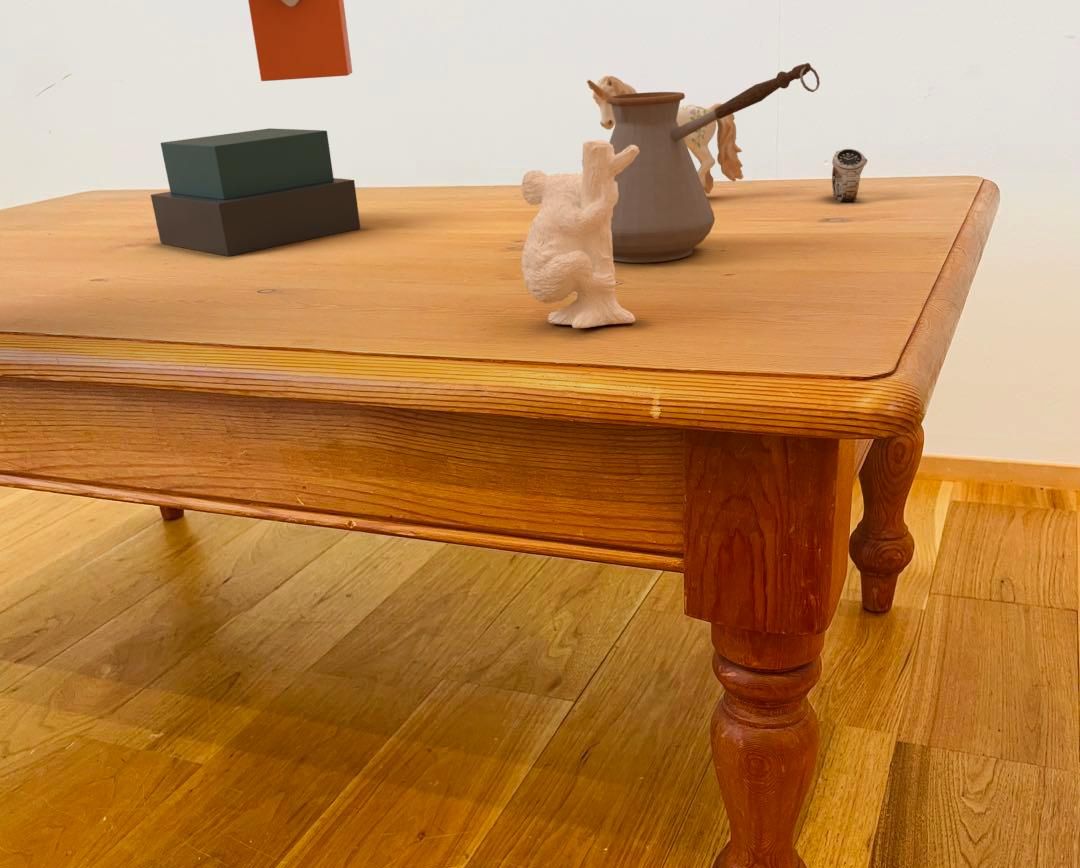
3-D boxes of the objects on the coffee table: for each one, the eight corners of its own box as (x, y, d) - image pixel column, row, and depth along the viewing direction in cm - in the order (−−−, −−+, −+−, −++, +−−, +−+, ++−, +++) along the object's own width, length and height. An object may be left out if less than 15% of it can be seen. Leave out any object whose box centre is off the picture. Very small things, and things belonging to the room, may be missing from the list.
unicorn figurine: (560, 212, 116) (553, 78, 110) (710, 190, 124) (711, 63, 118) (593, 220, 110) (587, 79, 105) (748, 197, 118) (751, 64, 112)
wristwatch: (834, 204, 110) (837, 153, 108) (822, 195, 116) (824, 146, 114) (868, 202, 110) (872, 151, 108) (855, 193, 116) (858, 144, 114)
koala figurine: (663, 318, 74) (660, 133, 69) (610, 343, 69) (603, 146, 64) (562, 306, 79) (553, 132, 74) (506, 329, 74) (492, 145, 69)
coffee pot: (555, 260, 94) (545, 73, 87) (637, 236, 101) (634, 62, 95) (765, 287, 80) (772, 68, 74) (843, 258, 88) (855, 57, 81)
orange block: (261, 81, 74) (237, -69, 70) (268, 78, 77) (246, -65, 73) (348, 75, 74) (329, -74, 70) (352, 73, 77) (334, -71, 73)
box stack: (228, 256, 105) (208, 148, 101) (160, 243, 114) (139, 144, 110) (360, 228, 115) (347, 129, 111) (288, 218, 124) (273, 126, 120)
